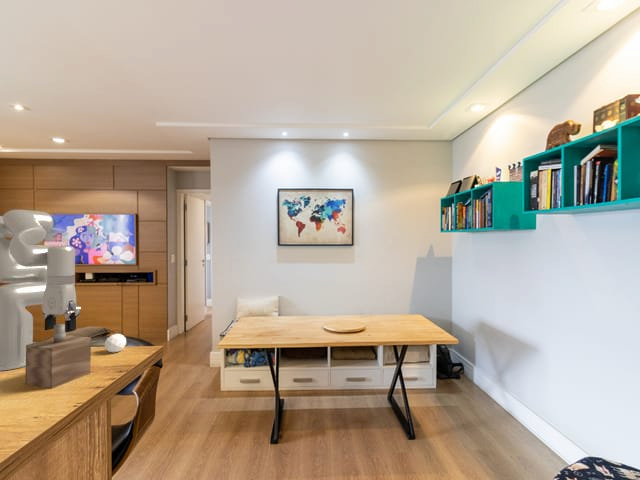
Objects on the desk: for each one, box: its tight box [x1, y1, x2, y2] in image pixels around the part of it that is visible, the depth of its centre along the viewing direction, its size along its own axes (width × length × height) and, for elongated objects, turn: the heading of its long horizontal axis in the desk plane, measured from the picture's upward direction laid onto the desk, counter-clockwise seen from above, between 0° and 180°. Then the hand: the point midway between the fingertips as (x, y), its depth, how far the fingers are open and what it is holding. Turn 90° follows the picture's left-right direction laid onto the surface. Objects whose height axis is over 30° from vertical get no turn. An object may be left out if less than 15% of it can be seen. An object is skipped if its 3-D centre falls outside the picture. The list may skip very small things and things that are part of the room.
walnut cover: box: [24, 323, 92, 389], centre depth 106 cm, size 12×12×18 cm
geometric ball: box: [104, 333, 127, 354], centre depth 132 cm, size 8×8×8 cm
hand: (60, 330), depth 106 cm, fingers open, 9 cm apart
